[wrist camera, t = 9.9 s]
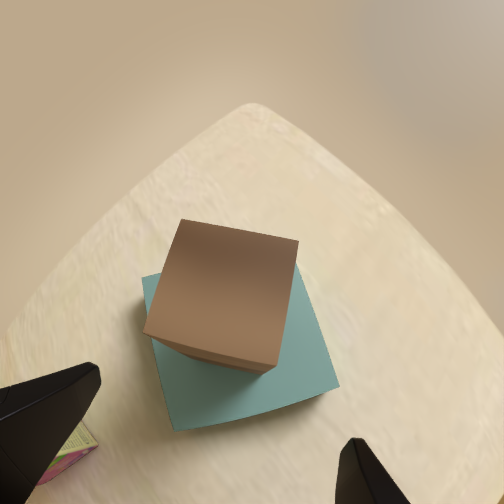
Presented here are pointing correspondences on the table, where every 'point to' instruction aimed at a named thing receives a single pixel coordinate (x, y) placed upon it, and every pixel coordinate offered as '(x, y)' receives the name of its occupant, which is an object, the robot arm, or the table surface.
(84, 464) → the table surface
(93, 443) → the box
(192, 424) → the teal plinth
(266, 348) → the walnut block
